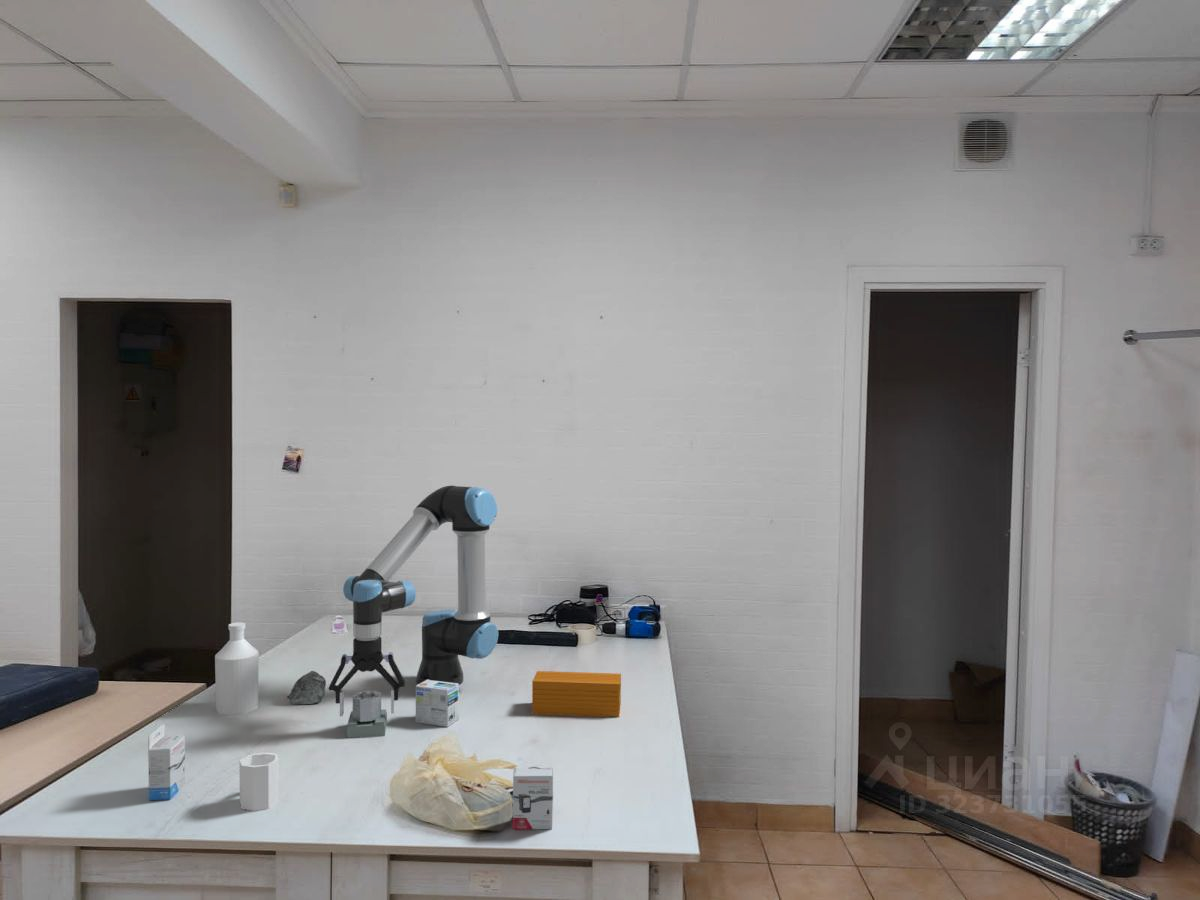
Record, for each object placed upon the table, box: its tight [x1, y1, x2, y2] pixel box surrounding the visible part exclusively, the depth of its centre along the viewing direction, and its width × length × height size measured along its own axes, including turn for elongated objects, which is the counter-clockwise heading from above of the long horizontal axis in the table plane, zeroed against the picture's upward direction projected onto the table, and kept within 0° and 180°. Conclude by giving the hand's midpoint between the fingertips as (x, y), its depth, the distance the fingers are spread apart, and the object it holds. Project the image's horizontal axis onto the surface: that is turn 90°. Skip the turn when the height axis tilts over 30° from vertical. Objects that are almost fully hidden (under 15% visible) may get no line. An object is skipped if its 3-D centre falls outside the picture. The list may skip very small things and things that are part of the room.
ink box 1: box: [147, 723, 186, 801], centre depth 194 cm, size 9×5×15 cm, turn 5°
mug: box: [239, 751, 280, 812], centre depth 191 cm, size 12×9×10 cm
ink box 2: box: [512, 765, 554, 831], centre depth 181 cm, size 9×5×12 cm, turn 93°
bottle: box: [214, 621, 260, 716], centre depth 249 cm, size 12×12×25 cm
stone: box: [286, 670, 327, 706], centre depth 256 cm, size 10×10×10 cm
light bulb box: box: [415, 680, 460, 728], centre depth 241 cm, size 11×7×11 cm, turn 71°
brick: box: [531, 670, 622, 718], centre depth 252 cm, size 26×10×10 cm, turn 86°
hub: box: [352, 690, 382, 722], centre depth 233 cm, size 7×7×6 cm
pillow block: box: [346, 693, 388, 739], centre depth 233 cm, size 10×10×10 cm
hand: (367, 713), depth 233 cm, fingers open, 13 cm apart
